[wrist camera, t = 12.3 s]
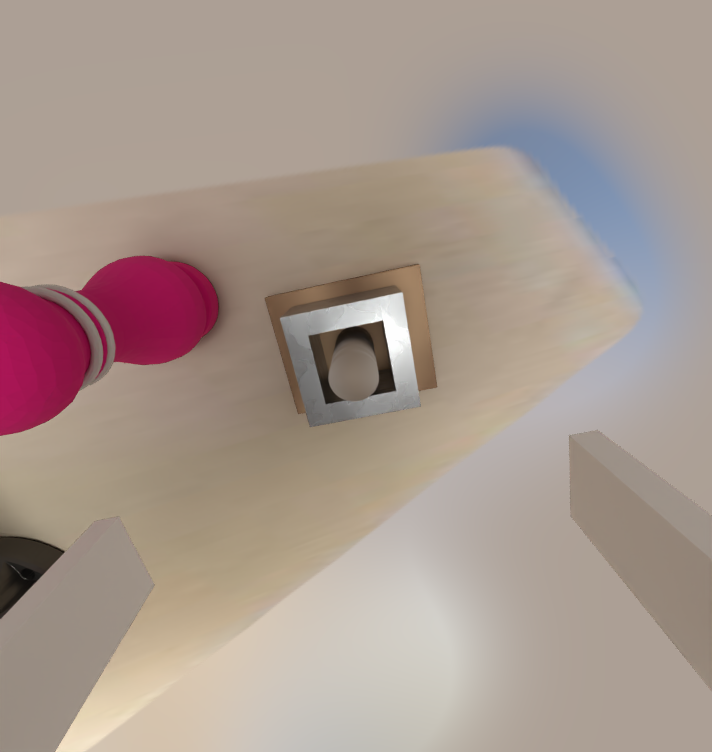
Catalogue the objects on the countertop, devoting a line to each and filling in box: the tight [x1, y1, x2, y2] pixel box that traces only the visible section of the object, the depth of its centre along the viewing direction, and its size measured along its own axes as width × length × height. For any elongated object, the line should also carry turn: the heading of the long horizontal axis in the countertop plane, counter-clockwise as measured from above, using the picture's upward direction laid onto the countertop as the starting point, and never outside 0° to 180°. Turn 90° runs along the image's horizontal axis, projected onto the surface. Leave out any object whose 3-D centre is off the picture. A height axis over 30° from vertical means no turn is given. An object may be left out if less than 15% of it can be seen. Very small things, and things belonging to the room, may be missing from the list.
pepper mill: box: [0, 256, 219, 436], centre depth 20 cm, size 7×7×20 cm
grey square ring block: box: [280, 285, 421, 427], centre depth 27 cm, size 8×8×5 cm
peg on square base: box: [265, 264, 437, 414], centre depth 26 cm, size 12×10×9 cm
